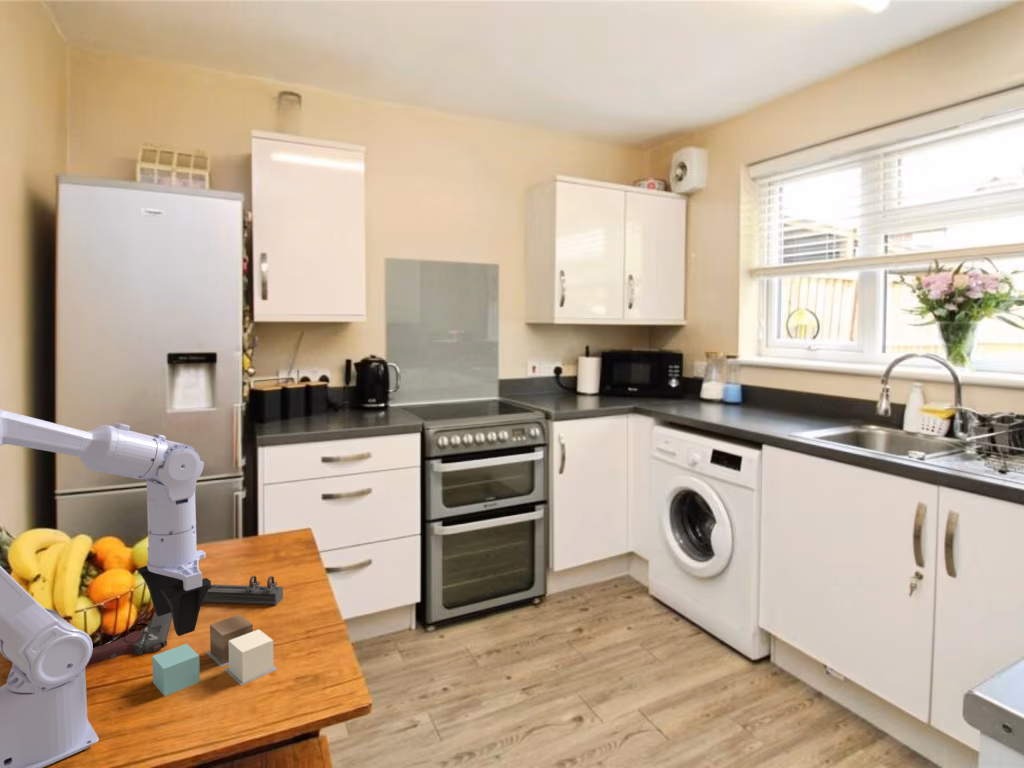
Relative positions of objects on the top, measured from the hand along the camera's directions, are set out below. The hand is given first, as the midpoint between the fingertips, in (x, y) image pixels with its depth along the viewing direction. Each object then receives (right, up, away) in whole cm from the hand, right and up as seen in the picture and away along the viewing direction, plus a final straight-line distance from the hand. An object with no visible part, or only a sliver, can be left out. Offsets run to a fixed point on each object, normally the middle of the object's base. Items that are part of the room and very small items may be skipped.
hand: (175, 622), depth 81 cm
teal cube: (0, -9, +1) cm, 9 cm away
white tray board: (+5, -9, +6) cm, 12 cm away
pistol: (-15, -8, +13) cm, 22 cm away
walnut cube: (+4, -8, +8) cm, 12 cm away
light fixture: (-3, -7, +25) cm, 27 cm away
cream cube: (+9, -9, +4) cm, 13 cm away
